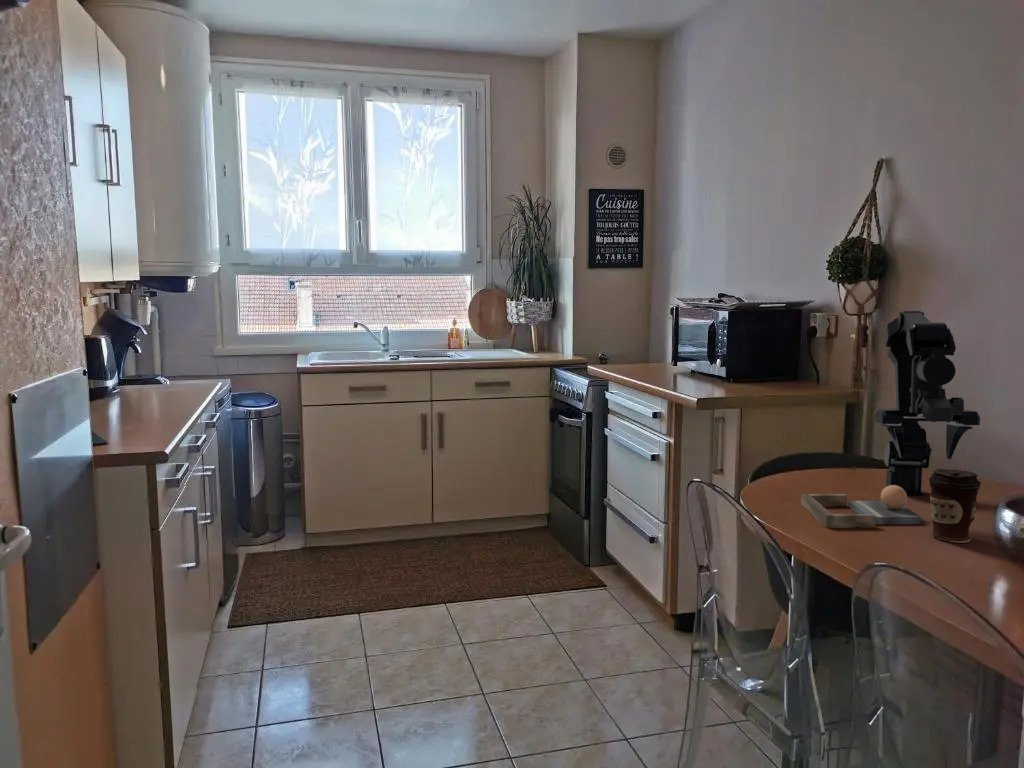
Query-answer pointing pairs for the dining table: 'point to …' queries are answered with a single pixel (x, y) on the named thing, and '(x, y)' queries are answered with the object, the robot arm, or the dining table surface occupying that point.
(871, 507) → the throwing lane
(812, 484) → the dining table surface
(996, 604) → the dining table surface
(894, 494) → the ball
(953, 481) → the coffee cup
